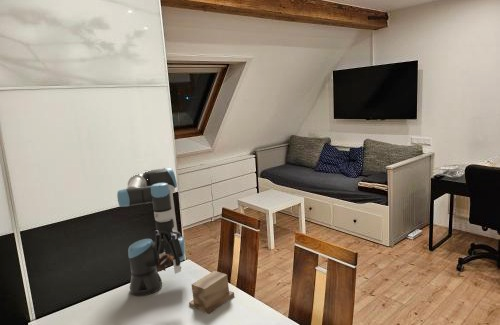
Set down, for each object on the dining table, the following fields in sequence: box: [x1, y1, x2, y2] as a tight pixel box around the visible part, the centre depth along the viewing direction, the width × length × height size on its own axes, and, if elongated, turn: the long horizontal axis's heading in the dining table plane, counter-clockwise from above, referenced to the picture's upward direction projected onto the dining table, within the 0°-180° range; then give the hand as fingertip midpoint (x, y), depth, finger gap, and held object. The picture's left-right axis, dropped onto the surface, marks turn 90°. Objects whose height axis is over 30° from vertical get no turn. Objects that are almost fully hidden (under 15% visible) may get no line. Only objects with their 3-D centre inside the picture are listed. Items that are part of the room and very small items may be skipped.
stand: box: [188, 270, 235, 315], centre depth 152 cm, size 12×16×10 cm
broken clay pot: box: [155, 253, 182, 273], centre depth 151 cm, size 12×10×8 cm
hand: (170, 269), depth 151 cm, fingers closed on broken clay pot, 9 cm apart
